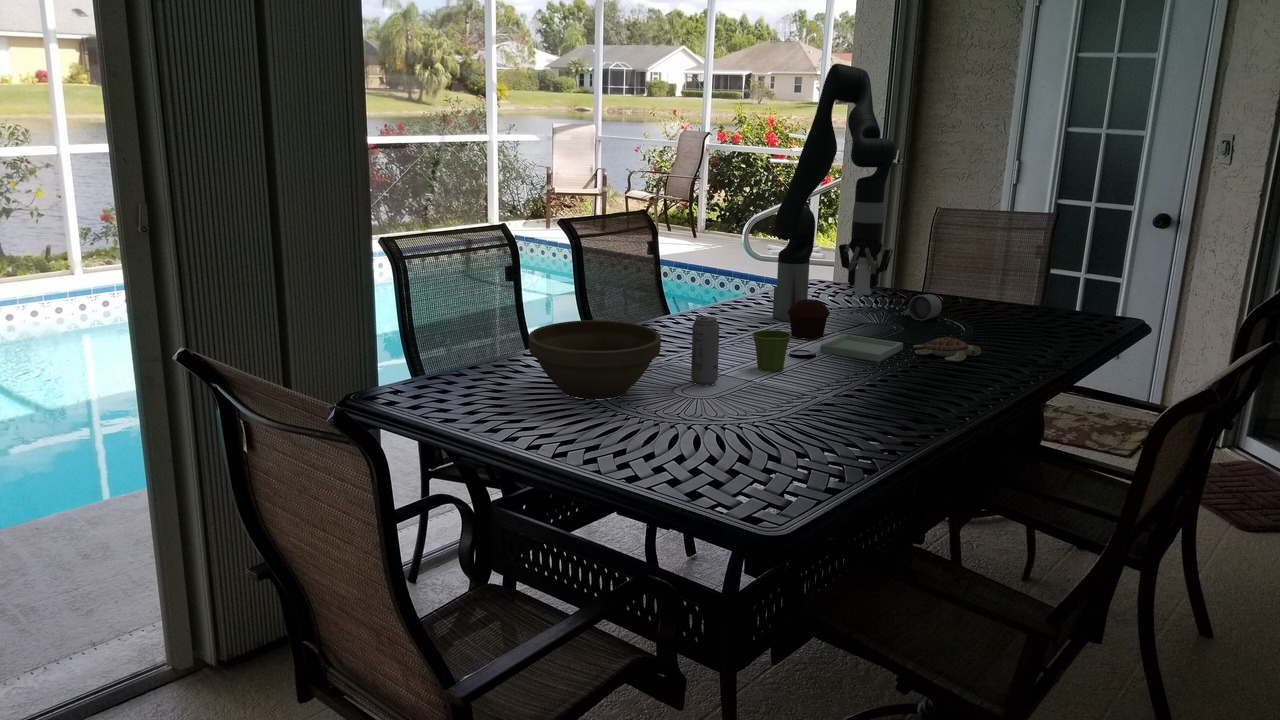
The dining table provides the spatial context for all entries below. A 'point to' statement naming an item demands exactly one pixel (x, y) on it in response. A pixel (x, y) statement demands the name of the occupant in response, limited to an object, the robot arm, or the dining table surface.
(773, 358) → the plant pot
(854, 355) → the tray
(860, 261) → the pepper shaker
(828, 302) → the dining table surface
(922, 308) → the ceramic mug
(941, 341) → the decorative turtle
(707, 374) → the energy drink can
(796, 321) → the muffin
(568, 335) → the flower pot
